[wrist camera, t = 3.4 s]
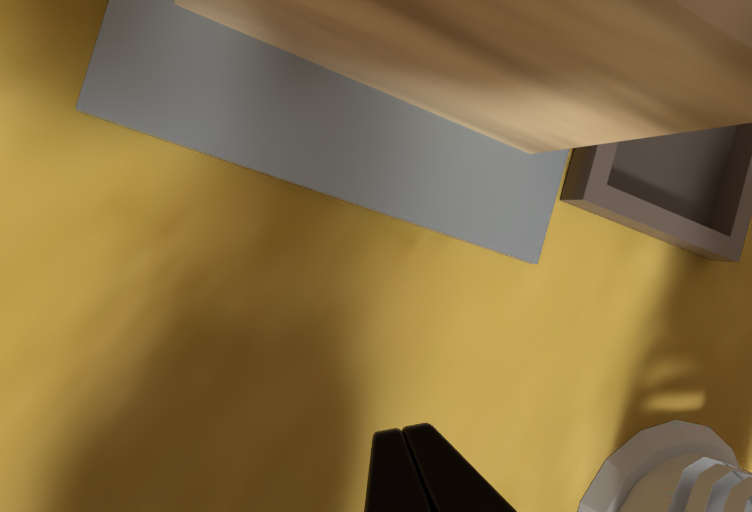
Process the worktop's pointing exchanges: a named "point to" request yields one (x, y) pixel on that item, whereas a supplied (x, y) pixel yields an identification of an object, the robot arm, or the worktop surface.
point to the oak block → (527, 60)
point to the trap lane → (401, 142)
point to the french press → (671, 474)
